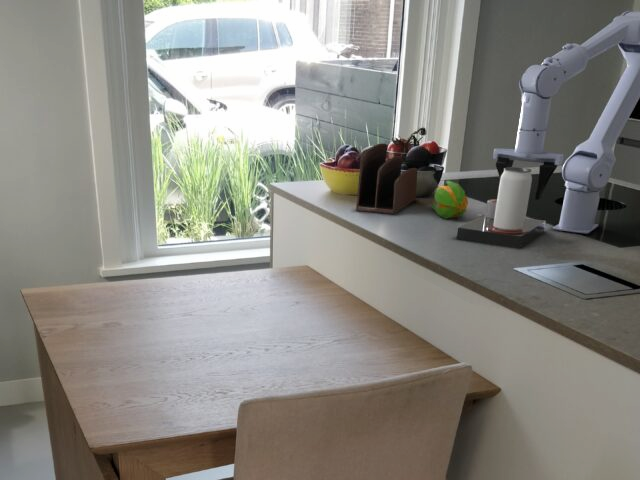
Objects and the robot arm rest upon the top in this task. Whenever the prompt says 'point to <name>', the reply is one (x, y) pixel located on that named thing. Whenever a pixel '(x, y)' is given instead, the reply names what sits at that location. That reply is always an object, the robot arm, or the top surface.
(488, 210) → the knob
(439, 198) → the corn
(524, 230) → the burner ring
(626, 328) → the top surface
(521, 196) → the can
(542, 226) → the hob
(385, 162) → the letter holder
